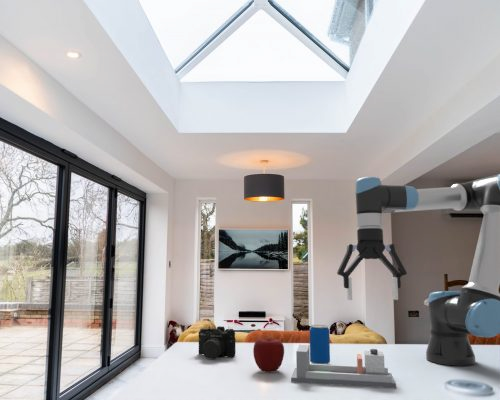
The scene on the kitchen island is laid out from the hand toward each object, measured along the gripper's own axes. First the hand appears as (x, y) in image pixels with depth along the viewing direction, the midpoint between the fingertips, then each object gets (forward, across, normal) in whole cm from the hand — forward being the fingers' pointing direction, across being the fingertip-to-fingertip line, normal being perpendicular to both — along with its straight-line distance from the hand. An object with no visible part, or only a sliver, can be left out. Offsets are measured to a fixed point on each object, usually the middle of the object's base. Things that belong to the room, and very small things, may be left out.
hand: (372, 299), depth 130 cm
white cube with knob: (+20, +1, +4) cm, 21 cm away
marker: (+20, +5, +3) cm, 21 cm away
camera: (+22, +49, -27) cm, 60 cm away
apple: (+22, +31, -7) cm, 39 cm away
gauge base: (+22, +10, +2) cm, 24 cm away
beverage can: (+22, +13, -17) cm, 31 cm away
